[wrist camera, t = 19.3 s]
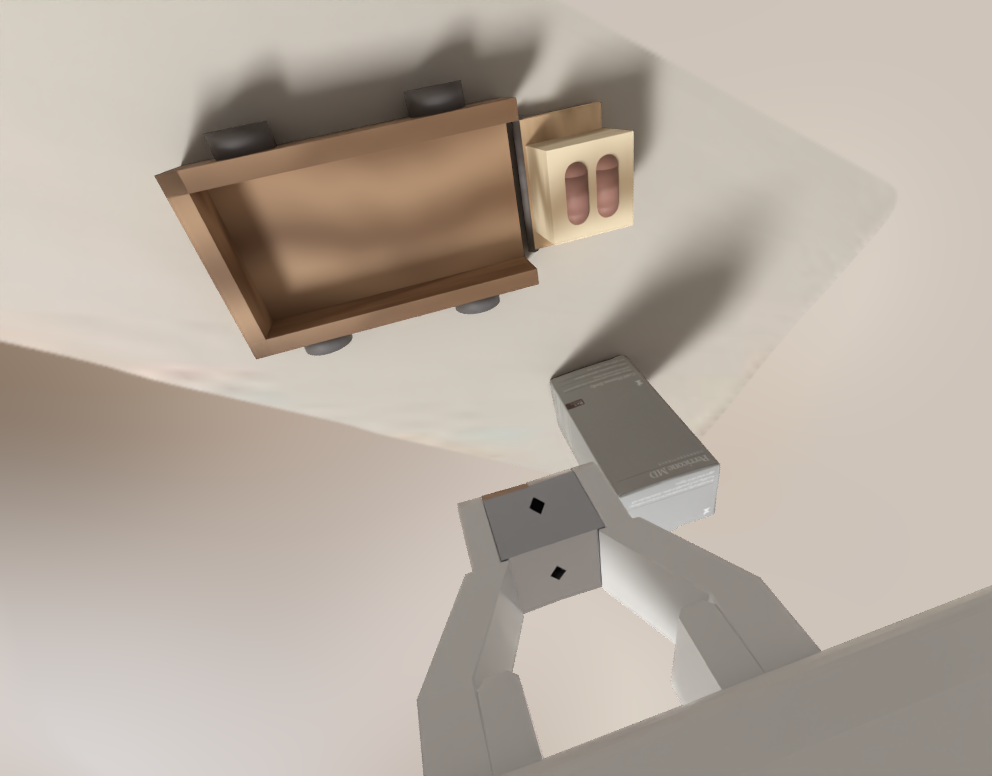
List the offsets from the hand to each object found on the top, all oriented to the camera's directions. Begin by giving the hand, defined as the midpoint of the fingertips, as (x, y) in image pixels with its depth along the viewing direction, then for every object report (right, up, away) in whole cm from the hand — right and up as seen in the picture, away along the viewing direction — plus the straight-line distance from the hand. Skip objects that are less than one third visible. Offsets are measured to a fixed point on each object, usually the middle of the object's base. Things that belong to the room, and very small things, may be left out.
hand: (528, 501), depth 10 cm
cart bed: (-10, +15, +23) cm, 29 cm away
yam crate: (+5, +18, +24) cm, 31 cm away
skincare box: (+9, +2, +37) cm, 38 cm away
